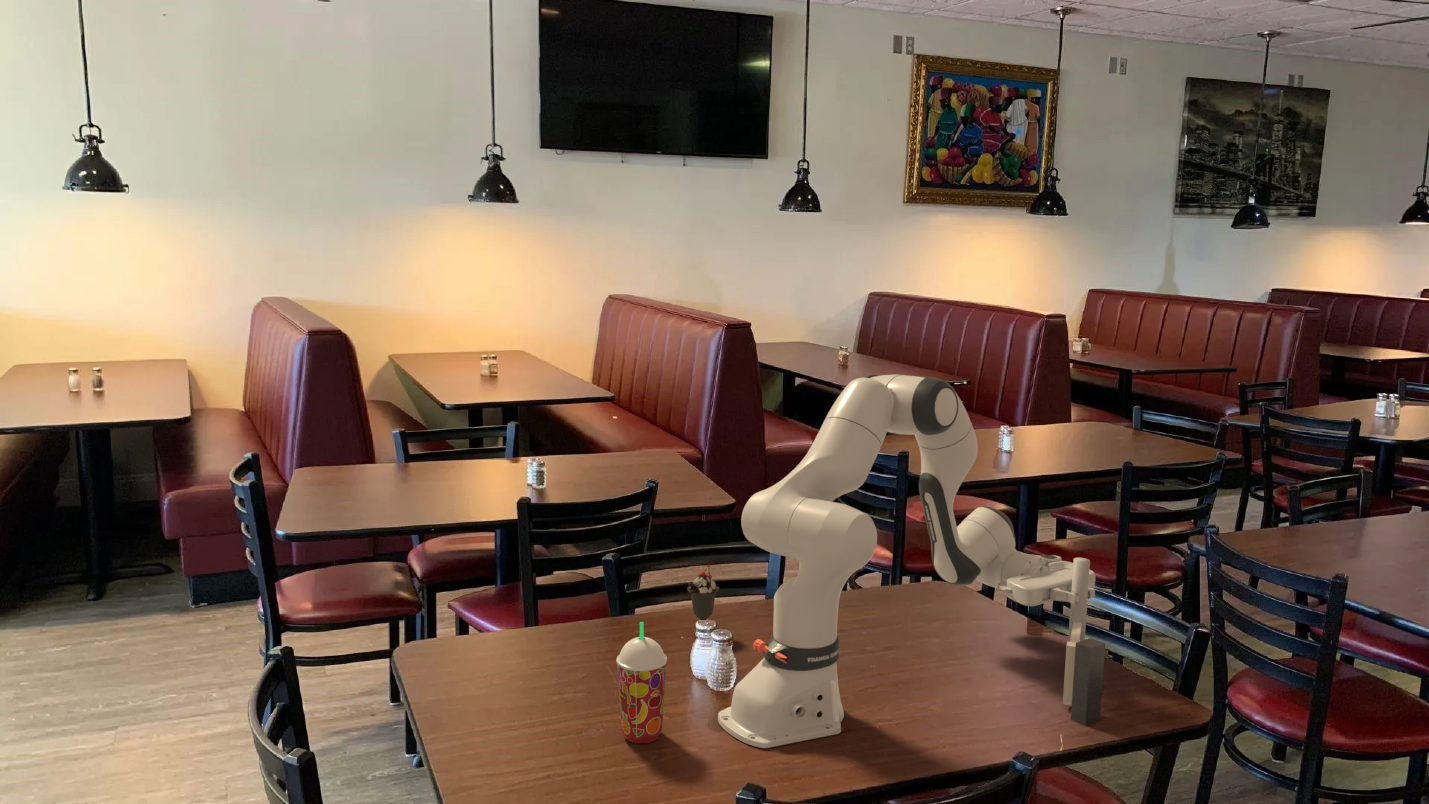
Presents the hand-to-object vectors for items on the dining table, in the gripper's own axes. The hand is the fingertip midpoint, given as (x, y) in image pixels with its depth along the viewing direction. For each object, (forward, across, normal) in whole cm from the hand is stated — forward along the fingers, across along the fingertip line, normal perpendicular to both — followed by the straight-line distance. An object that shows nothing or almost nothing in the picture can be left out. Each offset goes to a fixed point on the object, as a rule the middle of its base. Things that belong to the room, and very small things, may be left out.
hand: (1084, 596), depth 200 cm
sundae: (-55, -52, +15) cm, 77 cm away
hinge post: (+14, -17, +15) cm, 26 cm away
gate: (+4, -8, +14) cm, 16 cm away
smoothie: (-22, -85, +15) cm, 89 cm away
